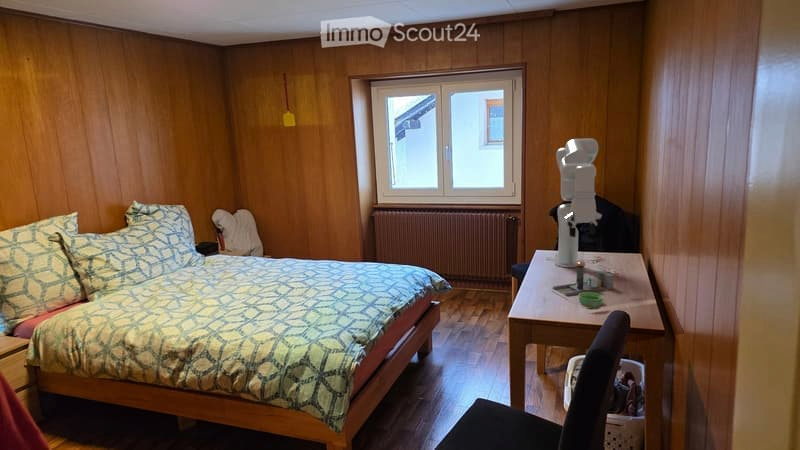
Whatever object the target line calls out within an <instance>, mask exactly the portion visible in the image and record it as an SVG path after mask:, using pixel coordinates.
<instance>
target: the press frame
mask: <svg viewBox="0 0 800 450" xmlns="http://www.w3.org/2000/svg"><path fill="white" fill-rule="evenodd" d="M594 277H596V278H597V279H600V280H601V288H594V289H586V290H579V291H575V290H573V289H571V288H569V286H572V285H576V282H575V283H574V282H573V283H567V284H560V285H553V287H551V289H552V290H551V292H552V293H553V294H556V295H558V296H559V297H561V298H563V299H564V300H565V299H566V300H567V301H569V299H568V298H566V297H575V296H579V294H580V293H584V292H592V293H597V294H599V293H604V292H611V291H618V289H616V288H614V283H615V282H614V278H615V276H614V274H612V273H610V272H607V271H605V270H602V269H601V270H595V276H594ZM553 290H555V291H557V292H558V293H560V294H562V295H564V296H566V297H564V296H562V295H560V294H558V293H557V292H555V291H553Z"/></svg>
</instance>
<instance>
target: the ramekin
mask: <svg viewBox="0 0 800 450" xmlns="http://www.w3.org/2000/svg"><path fill="white" fill-rule="evenodd" d="M603 298H604V297H603V295H602V294H599V293H592V292H584V293H580V294H579V295H578V301H579V303H580V304H581V305H583V306H587V307H588V306H589V307H588V308H586V310H591V311H592V310H599V309H601V308H602V306H601V305H602V303H603ZM583 306H581V308H584V307H583Z"/></svg>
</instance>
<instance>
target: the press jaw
mask: <svg viewBox="0 0 800 450" xmlns="http://www.w3.org/2000/svg"><path fill="white" fill-rule="evenodd" d="M578 261H579V260H578ZM576 265H577V267H576V282H575V283H576V285H572V286H569V288H571V289H573V290H575V291H579V290H586V289H594V288H597V278H596V277H595V276H592V275H590V274H588V273H585V266H586V262H585V261H579V262H576Z"/></svg>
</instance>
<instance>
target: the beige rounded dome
mask: <svg viewBox="0 0 800 450" xmlns="http://www.w3.org/2000/svg"><path fill="white" fill-rule="evenodd" d="M597 288H601V280H600V279H597Z"/></svg>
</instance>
